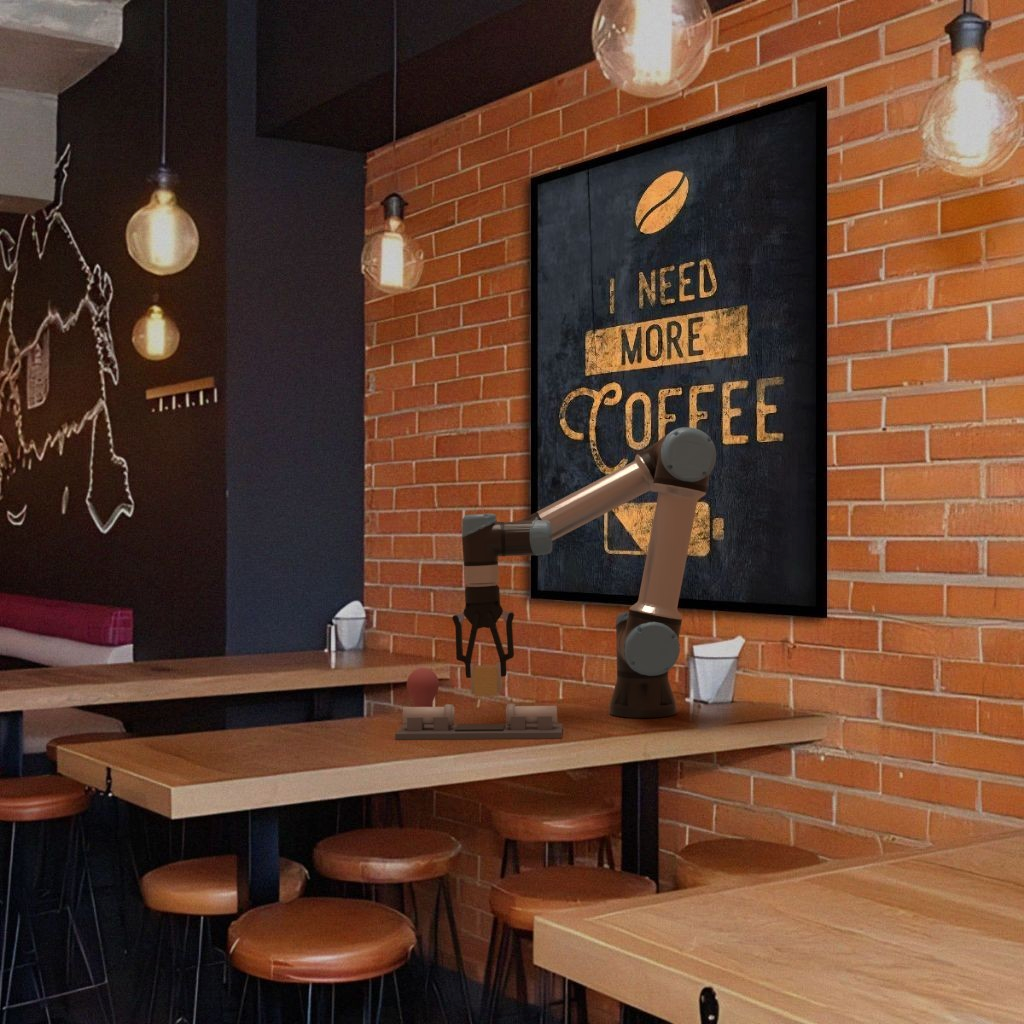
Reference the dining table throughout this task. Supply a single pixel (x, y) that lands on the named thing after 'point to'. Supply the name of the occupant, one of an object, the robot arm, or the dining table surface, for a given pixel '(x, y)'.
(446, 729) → the grey assembly fixture
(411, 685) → the light bulb
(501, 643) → the robot arm
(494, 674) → the block
